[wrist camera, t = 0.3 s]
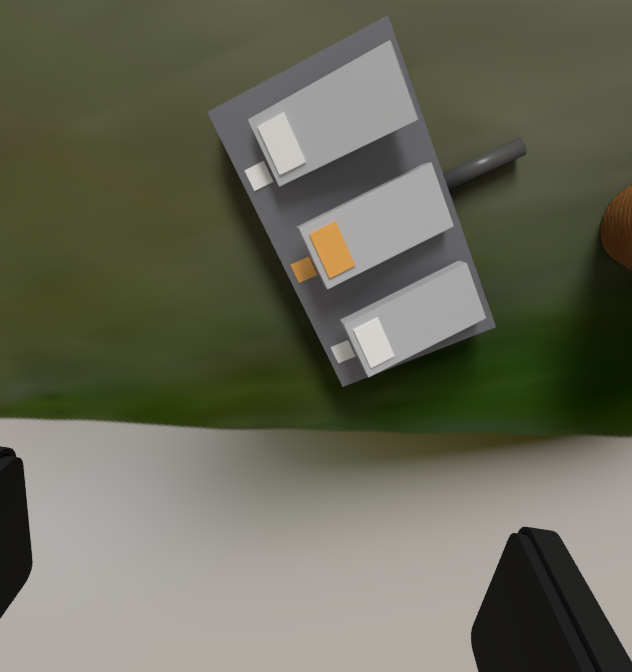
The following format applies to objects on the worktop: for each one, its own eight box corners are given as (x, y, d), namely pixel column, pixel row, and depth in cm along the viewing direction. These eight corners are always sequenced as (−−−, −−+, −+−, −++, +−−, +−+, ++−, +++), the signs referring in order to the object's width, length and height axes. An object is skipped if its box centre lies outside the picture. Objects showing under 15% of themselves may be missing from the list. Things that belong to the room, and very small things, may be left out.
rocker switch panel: (469, -17, 30) (490, -41, 26) (554, 278, 37) (580, 294, 33) (221, 116, 33) (206, 112, 29) (341, 364, 40) (342, 387, 36)
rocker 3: (458, 260, 32) (467, 263, 31) (477, 313, 33) (487, 318, 32) (340, 319, 32) (344, 325, 31) (364, 371, 33) (369, 378, 32)
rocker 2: (423, 163, 30) (432, 162, 29) (446, 225, 31) (454, 226, 30) (296, 226, 30) (299, 228, 28) (324, 285, 31) (327, 289, 30)
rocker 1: (391, 42, 26) (389, 39, 25) (418, 118, 27) (417, 119, 26) (254, 118, 29) (246, 119, 28) (284, 183, 30) (278, 187, 29)
